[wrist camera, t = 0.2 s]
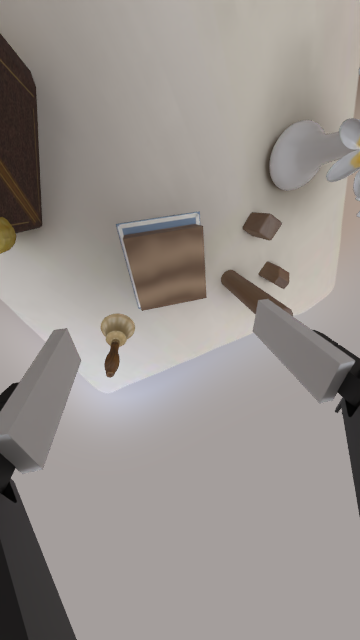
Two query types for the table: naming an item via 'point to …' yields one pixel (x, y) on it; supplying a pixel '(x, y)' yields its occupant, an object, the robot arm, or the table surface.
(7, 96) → the book
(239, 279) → the wooden blocks
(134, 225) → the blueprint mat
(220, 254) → the table surface
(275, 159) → the flower vase
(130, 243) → the walnut plinth
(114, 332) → the hand bell
